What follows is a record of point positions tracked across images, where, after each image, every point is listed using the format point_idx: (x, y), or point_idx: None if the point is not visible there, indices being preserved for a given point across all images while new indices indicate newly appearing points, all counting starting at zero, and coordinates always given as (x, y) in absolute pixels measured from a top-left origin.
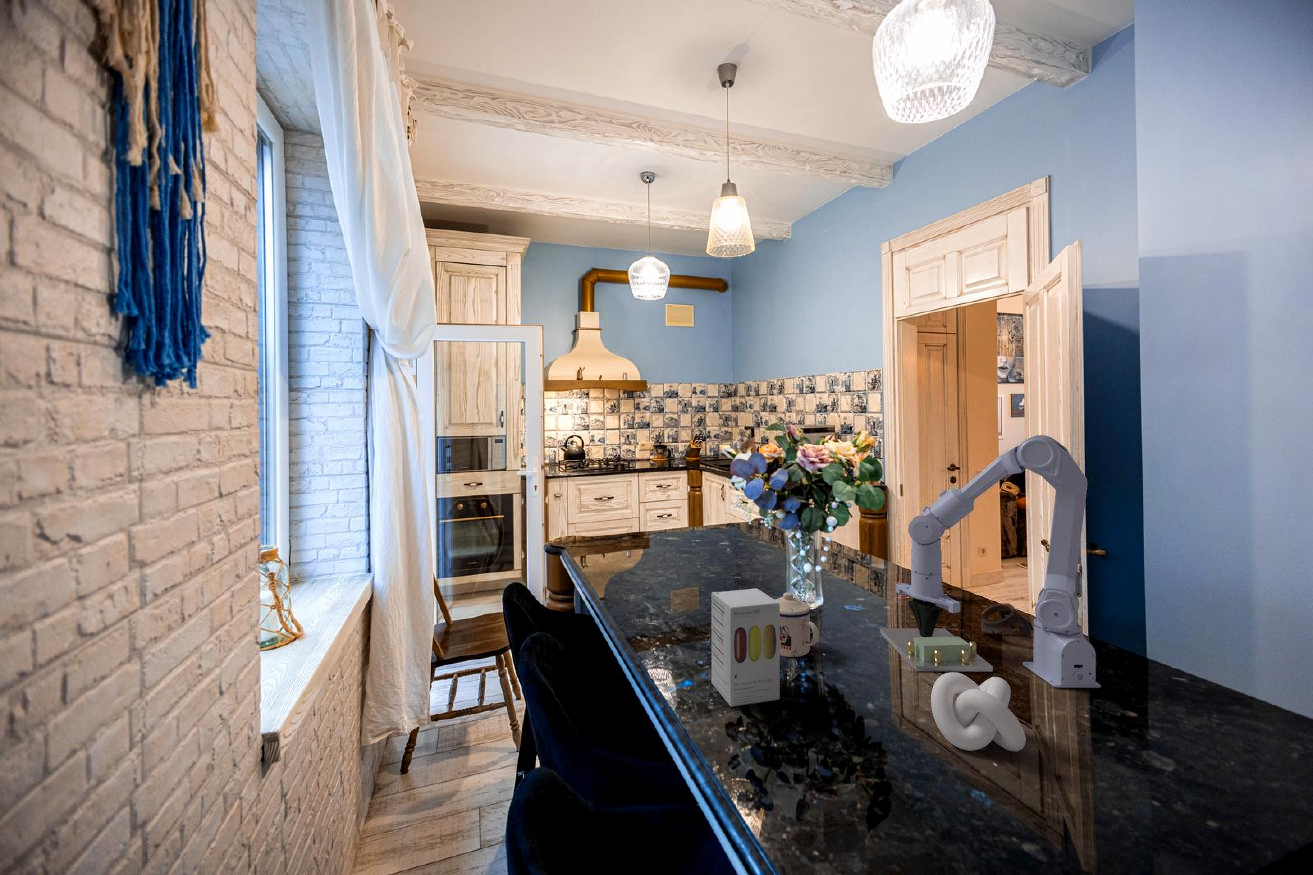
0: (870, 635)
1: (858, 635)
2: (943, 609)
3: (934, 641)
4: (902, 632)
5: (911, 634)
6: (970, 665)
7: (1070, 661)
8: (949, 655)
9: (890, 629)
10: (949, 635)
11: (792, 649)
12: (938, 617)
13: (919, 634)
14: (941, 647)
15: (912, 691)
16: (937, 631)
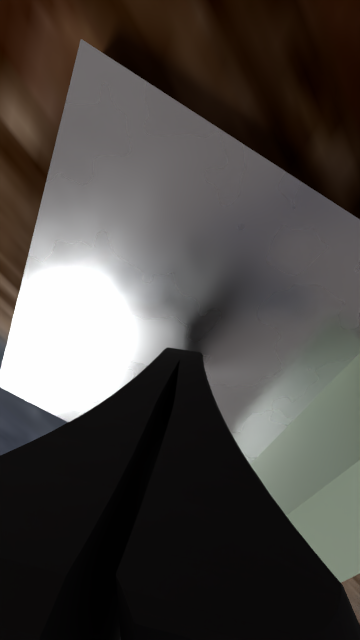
0: (26, 413)
1: (17, 438)
2: (325, 582)
3: (337, 543)
4: (60, 354)
5: (92, 340)
6: None
7: None
8: None
9: (15, 363)
10: (196, 155)
11: None
12: (240, 455)
13: (107, 309)
14: None
15: (356, 594)
16: (109, 166)
